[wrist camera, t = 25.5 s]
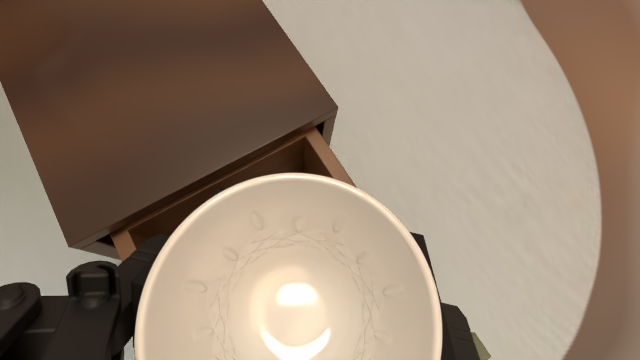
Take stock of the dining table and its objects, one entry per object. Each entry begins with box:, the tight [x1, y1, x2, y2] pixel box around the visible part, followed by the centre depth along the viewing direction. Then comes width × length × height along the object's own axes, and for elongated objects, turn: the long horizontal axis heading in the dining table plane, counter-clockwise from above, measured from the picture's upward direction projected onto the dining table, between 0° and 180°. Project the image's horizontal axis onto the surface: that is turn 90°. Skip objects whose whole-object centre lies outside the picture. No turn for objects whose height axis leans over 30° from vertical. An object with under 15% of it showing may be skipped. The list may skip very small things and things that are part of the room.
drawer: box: [109, 126, 491, 360], centre depth 19 cm, size 20×13×7 cm, turn 32°
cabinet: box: [0, 0, 338, 260], centre depth 23 cm, size 16×14×9 cm
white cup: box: [134, 173, 442, 360], centre depth 14 cm, size 8×8×10 cm
